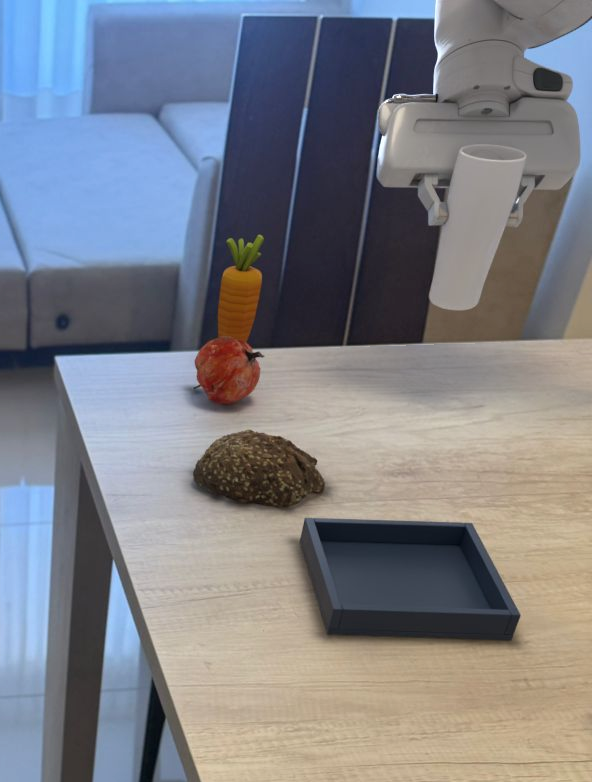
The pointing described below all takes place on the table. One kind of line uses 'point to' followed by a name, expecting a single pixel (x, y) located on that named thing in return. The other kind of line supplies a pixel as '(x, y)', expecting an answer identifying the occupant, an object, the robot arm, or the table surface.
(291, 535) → the table surface
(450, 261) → the white cup
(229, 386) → the pomegranate
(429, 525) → the dark blue-gray tray
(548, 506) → the table surface
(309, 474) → the bread roll
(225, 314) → the carrot
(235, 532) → the table surface
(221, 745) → the table surface
